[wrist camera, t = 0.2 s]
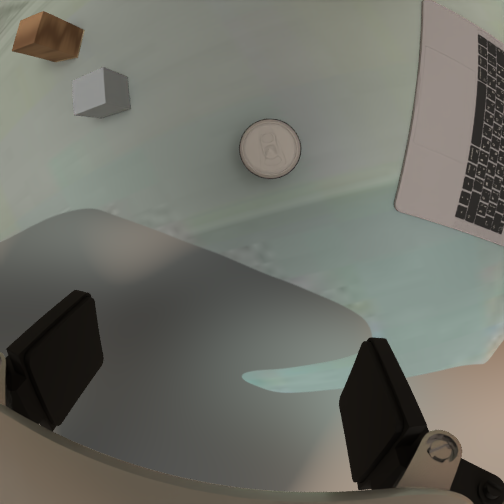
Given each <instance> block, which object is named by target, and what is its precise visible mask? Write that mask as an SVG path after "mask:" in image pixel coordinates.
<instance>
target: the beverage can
mask: <svg viewBox="0 0 504 504" xmlns="http://www.w3.org/2000/svg"><path fill="white" fill-rule="evenodd" d="M239 152H240V157H241V160H242V162H243V164H244V165H245V167H246V168H247V169H248V170H249V171H250V172H251V173H253V174H255V175H256V176H259V177H261V178H266V179H275V178H280V177H282V176H285V175H286V174H288V173H289V172H291V171H292V170H293V169H294V168H295V166H296V165H297V163H298V161H299V159H300V155H301V143H300V140H299V137H298V135H297V133H296V132H295V131H294V129H293V128H292V127H291V126H289V125H288V124H287V123H285V122H283V121H280V120H277V119H263V120H260V121H257V122H255V123H253V124H252V125H250V126H249V127H248V128H247V129H246V131H245V132H244V133H243V135H242V137H241V140H240V145H239Z"/></svg>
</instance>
